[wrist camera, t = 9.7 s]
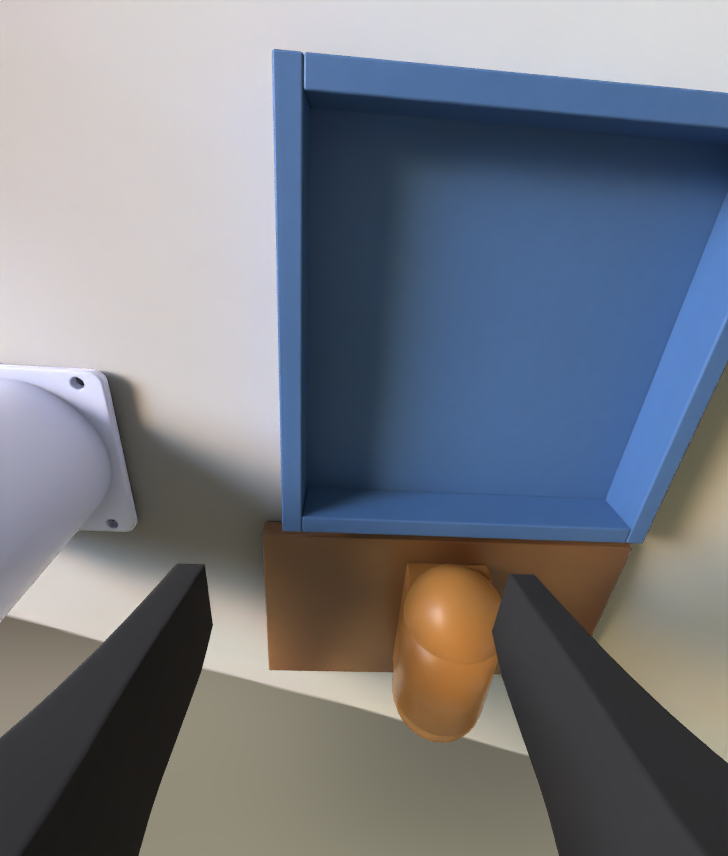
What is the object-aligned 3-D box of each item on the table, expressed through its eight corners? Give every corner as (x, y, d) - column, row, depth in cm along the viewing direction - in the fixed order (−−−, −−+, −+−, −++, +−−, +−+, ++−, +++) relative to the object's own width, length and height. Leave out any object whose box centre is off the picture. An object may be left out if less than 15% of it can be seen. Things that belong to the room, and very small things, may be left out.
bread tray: (290, 493, 20) (282, 531, 18) (286, 77, 13) (271, 47, 11) (609, 506, 21) (643, 544, 19) (765, 121, 14) (851, 103, 12)
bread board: (271, 654, 25) (269, 670, 25) (266, 521, 21) (262, 534, 20) (566, 660, 26) (573, 676, 26) (621, 534, 22) (633, 547, 21)
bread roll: (385, 671, 25) (391, 762, 21) (403, 541, 20) (417, 624, 16) (463, 672, 25) (485, 763, 21) (498, 544, 21) (534, 627, 17)
